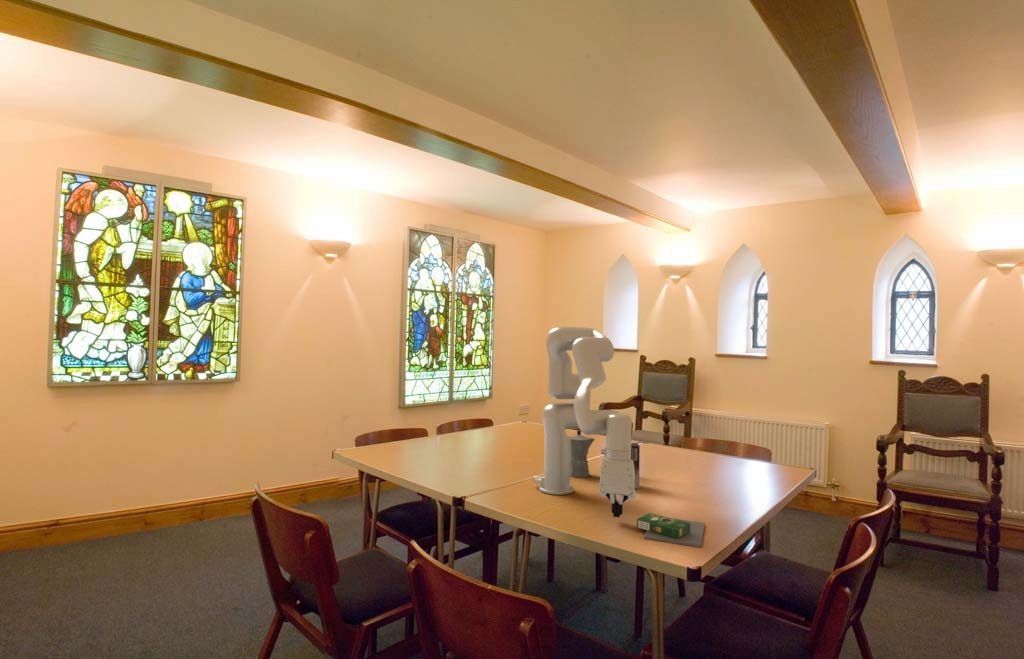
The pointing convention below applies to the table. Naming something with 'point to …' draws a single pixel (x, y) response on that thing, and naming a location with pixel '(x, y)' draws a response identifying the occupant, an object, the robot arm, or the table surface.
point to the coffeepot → (579, 455)
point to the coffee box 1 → (636, 461)
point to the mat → (689, 539)
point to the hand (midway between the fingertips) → (617, 516)
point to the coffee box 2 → (663, 525)
